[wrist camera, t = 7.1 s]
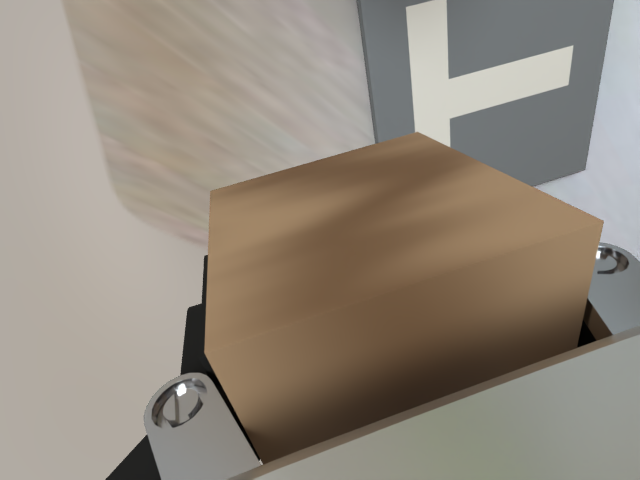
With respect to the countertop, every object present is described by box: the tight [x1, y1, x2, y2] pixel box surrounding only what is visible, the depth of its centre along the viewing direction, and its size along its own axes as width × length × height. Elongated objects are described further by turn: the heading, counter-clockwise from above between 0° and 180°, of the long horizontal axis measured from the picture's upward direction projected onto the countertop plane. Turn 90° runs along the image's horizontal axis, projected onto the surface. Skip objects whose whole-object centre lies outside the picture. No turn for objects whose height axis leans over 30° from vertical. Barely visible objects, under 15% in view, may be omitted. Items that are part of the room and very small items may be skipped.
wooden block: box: [204, 132, 604, 465], centre depth 9 cm, size 6×6×6 cm
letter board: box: [357, 0, 614, 186], centre depth 24 cm, size 16×16×1 cm
